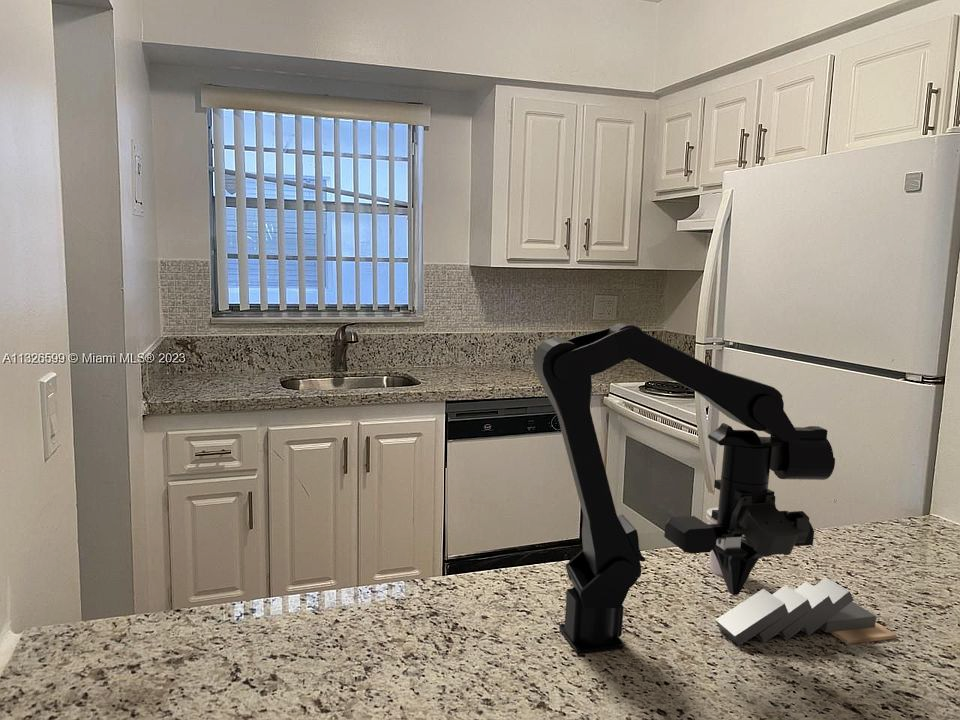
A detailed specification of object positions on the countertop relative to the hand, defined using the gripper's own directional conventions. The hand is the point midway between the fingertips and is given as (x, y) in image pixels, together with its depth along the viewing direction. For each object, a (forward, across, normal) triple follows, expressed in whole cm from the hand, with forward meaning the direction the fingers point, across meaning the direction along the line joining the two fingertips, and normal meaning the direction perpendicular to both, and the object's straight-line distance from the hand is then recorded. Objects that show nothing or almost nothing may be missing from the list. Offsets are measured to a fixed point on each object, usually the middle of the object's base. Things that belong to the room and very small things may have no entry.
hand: (733, 593), depth 95 cm
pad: (+6, +18, 0) cm, 19 cm away
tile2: (+5, +3, 0) cm, 6 cm away
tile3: (+5, +7, 0) cm, 9 cm away
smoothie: (+6, +12, +19) cm, 23 cm away
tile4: (+5, +10, 0) cm, 11 cm away
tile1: (+5, 0, 0) cm, 5 cm away
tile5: (+5, +13, 0) cm, 14 cm away
